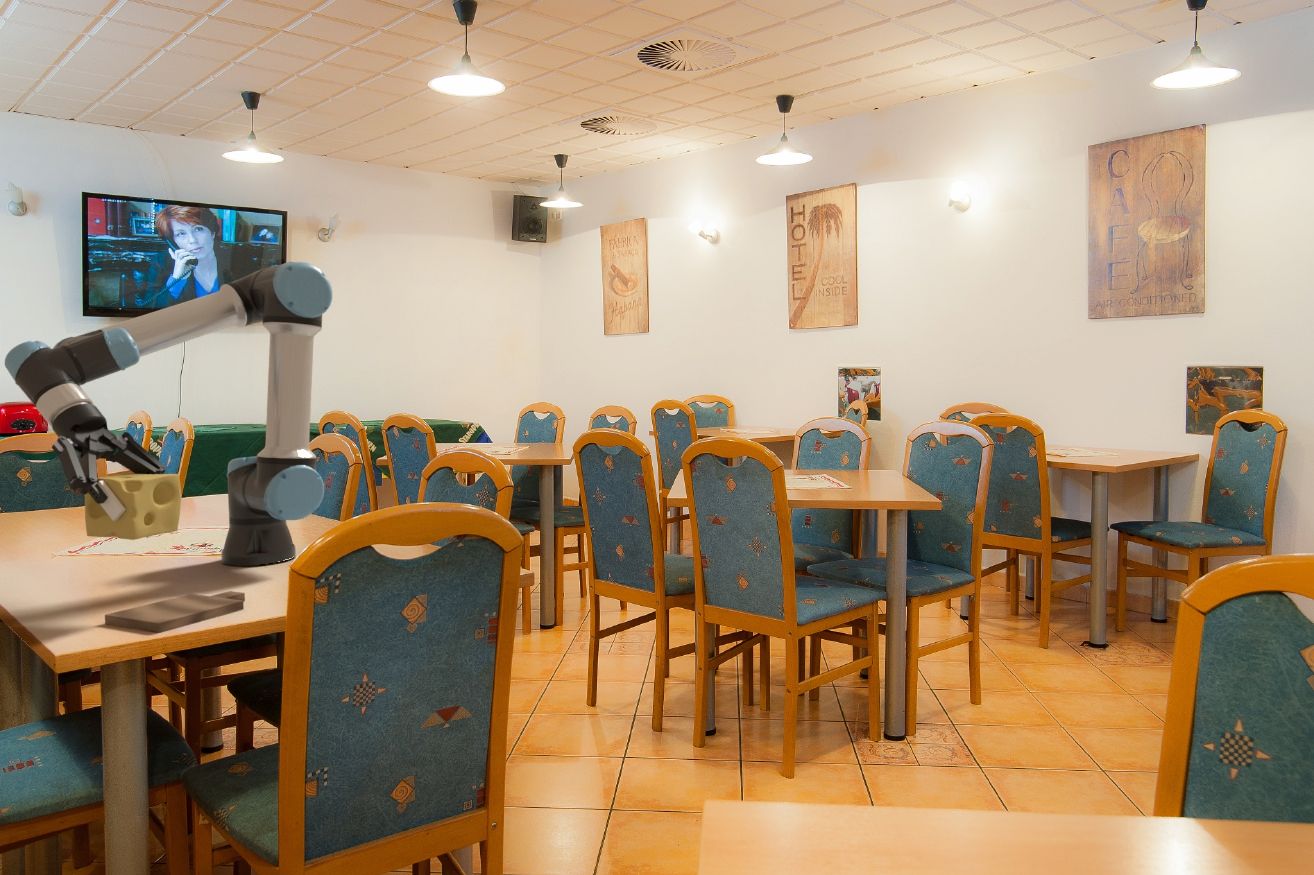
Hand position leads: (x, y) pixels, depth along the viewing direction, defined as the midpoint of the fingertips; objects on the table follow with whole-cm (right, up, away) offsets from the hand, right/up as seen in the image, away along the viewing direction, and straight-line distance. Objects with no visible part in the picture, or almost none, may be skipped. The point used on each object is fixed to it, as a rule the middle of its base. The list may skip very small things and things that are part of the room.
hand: (147, 510), depth 151 cm
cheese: (-3, -4, +1) cm, 5 cm away
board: (+6, -18, +1) cm, 19 cm away
